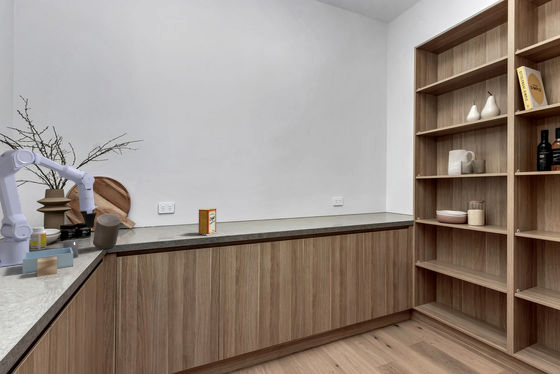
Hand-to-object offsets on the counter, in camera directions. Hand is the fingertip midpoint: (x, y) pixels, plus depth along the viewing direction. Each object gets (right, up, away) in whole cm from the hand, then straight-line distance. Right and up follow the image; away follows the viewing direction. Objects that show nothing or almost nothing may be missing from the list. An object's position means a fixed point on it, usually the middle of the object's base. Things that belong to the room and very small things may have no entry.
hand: (89, 226), depth 129 cm
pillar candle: (+6, -8, +2) cm, 10 cm away
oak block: (+11, -11, -36) cm, 39 cm away
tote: (+5, -11, -28) cm, 31 cm away
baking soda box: (+46, -11, +39) cm, 61 cm away
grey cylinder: (+3, -11, -16) cm, 20 cm away
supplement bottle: (-22, -11, -3) cm, 24 cm away
